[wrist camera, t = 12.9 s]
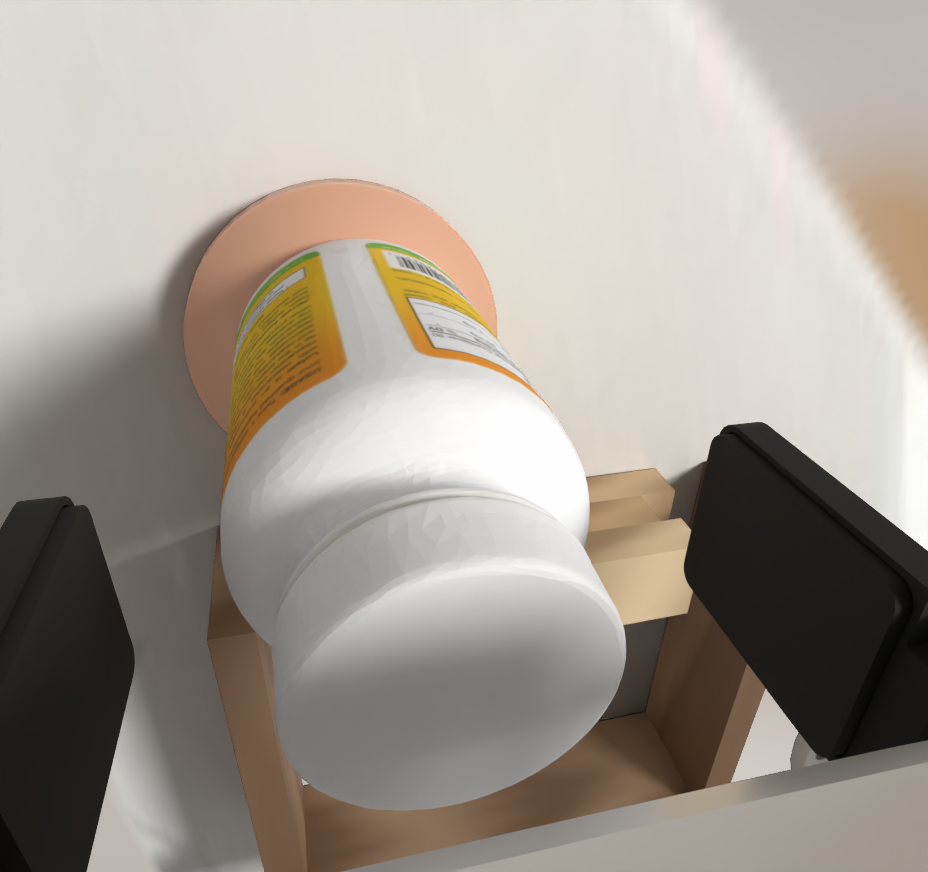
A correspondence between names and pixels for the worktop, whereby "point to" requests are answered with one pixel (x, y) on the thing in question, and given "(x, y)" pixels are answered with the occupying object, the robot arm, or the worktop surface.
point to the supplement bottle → (408, 536)
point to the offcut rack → (561, 782)
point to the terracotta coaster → (291, 232)
